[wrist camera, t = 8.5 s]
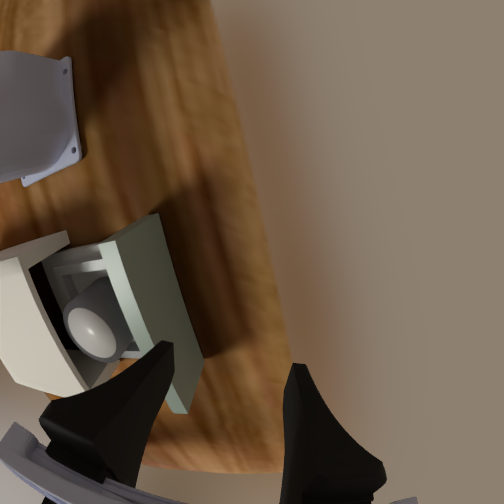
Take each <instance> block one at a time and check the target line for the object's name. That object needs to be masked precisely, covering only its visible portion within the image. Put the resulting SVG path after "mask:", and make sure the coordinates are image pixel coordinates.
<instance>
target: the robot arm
mask: <svg viewBox="0 0 504 504" xmlns="http://www.w3.org/2000/svg"><path fill="white" fill-rule="evenodd" d="M66 71H67V73H66ZM75 148H76V152H75V151H74V149H75ZM81 159H82V151H81V145H80V139H79V133H78V126H77V119H76V111H75V102H74V91H73V79H72V60H71V58H70V57H68V56H66V57H64V58H63V59H61V60H60V61H59V60H56V59H52V58H47V57H43V56H39V55H34V54H29V53H24V52H19V51H1V52H0V183H3V182H6V181H10V180H14V179H17V178H21V180H22V184H23V186H24V187H27V186H29V185H31V184H33V183H35V182H37V181H39V180H41V179H43V178H45V177H47V176H49V175H51V174H53V173H55V172H57V171H59V170H62V169H64V168H66V167H68V166H70V165H73V164H75V163H77V162H79V161H80V160H81ZM174 373H175V364H174V343H173V342H168V341H164V340H161V341H160V342H159V343H157V344H156V345H155V346H154V347H153V348H152V349H151V350H150V351H148V352H147V353H146V354H145V355H144V356H142V357H141V358H140V359H139V360H138V361H136V362H135V363H134V364H132V365H131V366H130V367H128V368H127V369H125V370H124V371H123V372H121V373H120V374H118V375H117V376H115V377H113V378H112V379H110V380H108V381H106V382H105V383H103V384H100V385H98V386H96V387H94V388H92V389H90V390H87V391H84V392H82V393H79V394H76V395H72V396H69V397H65V398H60V399H56V400H52V401H51V402H50V403H49V405H48V406H47V407H46V409H45V411H44V412H43V414H42V415H41V416H40V418H39V422H40V425H41V427H42V428H43V430H44V431H45V432H46V434H47V435H48V437H49V438H50V439H51V442H50V443H49V445H48V447H46V446H44V445H42V444H41V443H39V441H38V440H37V438H36V437H35V436H34V435H33V434H32V433H31V432H29V431H28V430H27V429H25V428H24V427H22V426H21V425H19V424H18V423H16V422H14V423H13V424H12V426H11V427H10V429H9V430H8V432H7V433H6V434H5V436H4V437H3V439H2V440H1V442H0V461H1V462H2V463H3V464H4V465H5V466H6V467H7V468H8V469H9V470H10V471H12V472H13V473H14V474H15V475H16V476H17V477H19V478H20V479H21V480H23V481H24V482H25V483H27V484H28V485H30V486H31V487H32V488H34V489H35V490H37V491H38V492H40V493H41V494H43V495H44V496H46V497H47V498H49V499H50V500H52V501H54V502H55V503H57V504H187V503H182V502H179V501H174V500H171V499H167V498H163V497H160V496H156V495H153V494H150V493H147V492H144V491H140V490H138V489H135V486H136V482H137V477H138V472H139V469H140V465H141V461H142V457H143V453H144V450H145V446H146V443H147V440H148V437H149V434H150V431H151V428H152V425H153V423H154V420H155V418H156V416H157V414H158V412H159V410H160V408H161V406H162V403H163V401H164V399H165V397H166V395H167V393H168V391H169V388H170V385H171V382H172V379H173V376H174ZM283 421H284V440H285V456H284V469H283V480H282V489H281V497H280V503H279V504H371V501H373V499H374V497H373V493H374V492H375V491H377V490H378V489H379V488H381V487H382V486H383V485H384V484H385V483H386V480H387V477H386V473H385V469H384V466H383V463H382V461H380V460H379V459H377V458H376V457H374V456H373V455H371V454H370V453H369V452H367V451H366V450H365V449H364V448H363V447H362V446H360V445H359V444H358V443H357V442H356V441H355V440H354V439H353V438H352V437H351V436H350V435H349V434H348V433H347V432H346V431H345V430H344V428H343V427H342V426H341V425H340V424H339V422H338V421H337V420H336V418H335V417H334V416H333V414H332V413H331V411H330V410H329V408H328V407H327V405H326V404H325V402H324V400H323V399H322V397H321V395H320V393H319V391H318V390H317V388H316V386H315V384H314V381H313V379H312V377H311V375H310V373H309V371H308V368H307V366H306V365H305V364H298V363H293V364H292V367H291V370H290V373H289V376H288V380H287V383H286V386H285V389H284V398H283ZM390 504H418V503H417V498H416V497H411V498H407V499H403V500H398V501H395V502H392V503H390Z"/></svg>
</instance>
